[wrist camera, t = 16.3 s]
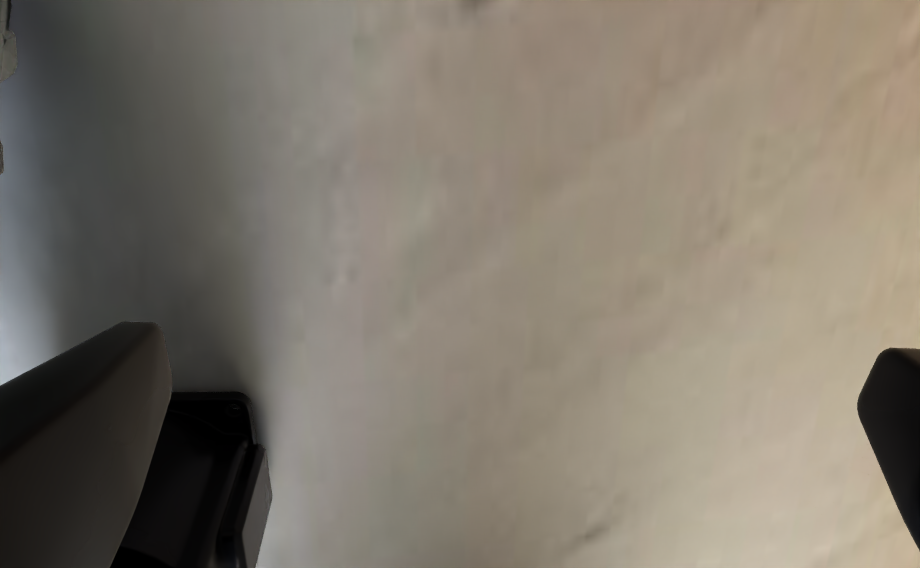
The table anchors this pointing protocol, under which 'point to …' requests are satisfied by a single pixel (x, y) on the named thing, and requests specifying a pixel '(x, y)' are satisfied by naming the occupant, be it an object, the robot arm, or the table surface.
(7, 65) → the grey beanbag
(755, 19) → the table surface
